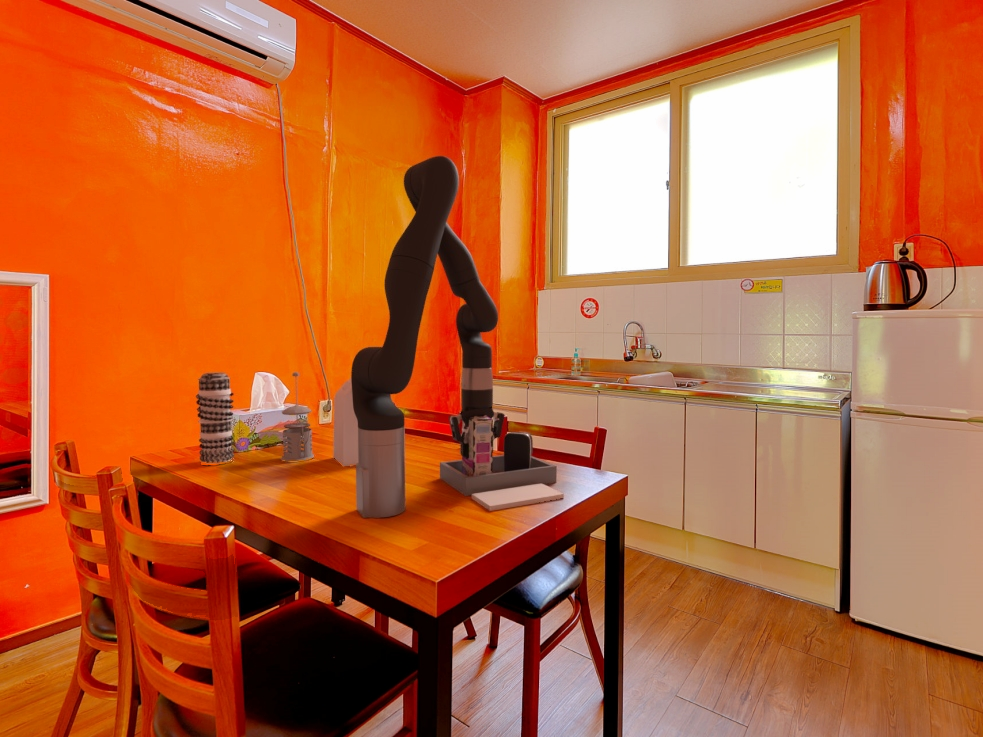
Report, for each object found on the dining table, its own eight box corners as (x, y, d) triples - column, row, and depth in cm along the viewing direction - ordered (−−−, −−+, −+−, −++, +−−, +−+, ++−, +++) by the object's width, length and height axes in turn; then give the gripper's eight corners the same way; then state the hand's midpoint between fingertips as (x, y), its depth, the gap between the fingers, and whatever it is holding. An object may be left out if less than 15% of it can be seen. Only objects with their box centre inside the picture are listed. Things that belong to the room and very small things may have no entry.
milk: (384, 462, 145) (383, 369, 143) (343, 467, 139) (341, 371, 138) (372, 453, 155) (370, 367, 154) (333, 458, 150) (331, 368, 148)
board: (490, 510, 105) (490, 506, 105) (471, 498, 113) (471, 493, 113) (563, 498, 113) (563, 493, 113) (541, 487, 121) (541, 483, 121)
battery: (534, 476, 130) (534, 432, 129) (529, 480, 126) (529, 434, 126) (508, 474, 133) (508, 430, 132) (502, 477, 129) (502, 432, 128)
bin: (465, 496, 114) (465, 478, 114) (439, 478, 129) (439, 462, 128) (556, 482, 125) (556, 466, 125) (523, 467, 139) (523, 452, 139)
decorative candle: (208, 458, 149) (205, 372, 147) (241, 458, 149) (238, 371, 148) (191, 466, 140) (188, 374, 138) (226, 466, 140) (223, 374, 139)
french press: (308, 452, 156) (306, 370, 154) (323, 459, 147) (321, 372, 145) (275, 457, 150) (272, 371, 148) (288, 465, 141) (286, 374, 139)
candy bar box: (494, 488, 120) (493, 418, 119) (473, 490, 118) (472, 420, 117) (480, 476, 130) (480, 411, 129) (461, 477, 129) (461, 412, 128)
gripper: (455, 389, 116) (455, 463, 117) (511, 386, 123) (510, 457, 124) (443, 386, 123) (443, 456, 124) (496, 384, 129) (496, 450, 131)
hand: (477, 456), depth 124 cm, fingers closed on candy bar box, 5 cm apart
